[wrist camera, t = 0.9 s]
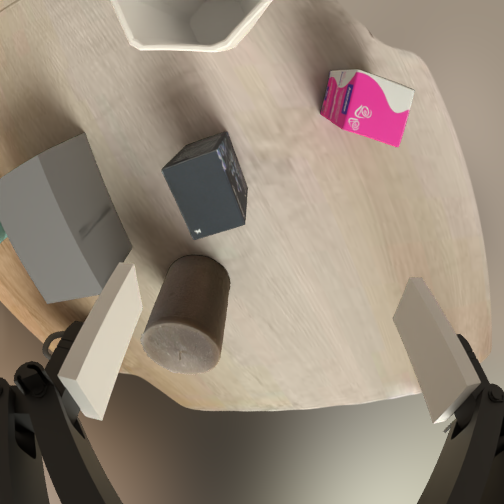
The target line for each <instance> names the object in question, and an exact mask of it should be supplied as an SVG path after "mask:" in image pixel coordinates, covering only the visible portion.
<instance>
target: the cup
mask: <svg viewBox="0 0 504 504" xmlns="http://www.w3.org/2000/svg"><path fill="white" fill-rule="evenodd" d="M272 1H273V0H110V2H111V4H112V6H113V9H114V11H115V13H116V15H117V18H118V20H119V22H120V24H121V27H122V29H123V31H124V33H125V36H126V38H127V40H128V42H129V44H130V45H132V46H133V47H135V48H137V49H138V50H180V51H201V52H220V51H227V50H230V49H233V48H235V47H236V46H237V45H238V44H239V42H240V41H241V40H242V39H243V38H244V37H245V36H246V35H247V33H248V32H249V31H250V30H251V29H252V28H253V26H254V25H255V23H256V22H257V21H258V19H259V18H260V17H261V15H262V14H263V12H264V11H265V10H266V8H267V7H268V6H269V5H270V3H271V2H272Z"/></svg>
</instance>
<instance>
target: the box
mask: <svg viewBox="0 0 504 504" xmlns="http://www.w3.org/2000/svg"><path fill="white" fill-rule="evenodd" d="M162 174H163V175H164V177H165V179H166V181H167V183H168V185H169V187H170V190H171V192H172V194H173V196H174V198H175V200H176V203H177V205H178V207H179V209H180V212H181V214H182V216H183V218H184V220H185V223H186V225H187V227H188V229H189V232H190V234H191V236H192V239H193V240H197V239H200V238H203V237H206V236H209V235H213V234H216V233H220V232H223V231H226V230H230V229H233V228H236V227H239V226H242V225H245V220H246V207H247V191H248V187H247V185H246V182H245V179H244V176H243V174H242V171H241V168H240V165H239V163H238V160H237V157H236V154H235V152H234V149H233V146H232V143H231V140H230V137H229V134H228V132H223V133H220V134H217V135H214V136H211V137H208V138H206V139H203V140H200V141H197V142H194V143H191V144H189V145H186V146H185V147H184V148H183V149H182V150H181V151H180V152H179V153H178V154H176V155H175V156H174V157H173V158H172V159H171V160H170V161H169V162H168V163H167V164H166V165H165V166H164V167H163V168H162Z"/></svg>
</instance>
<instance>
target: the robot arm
mask: <svg viewBox="0 0 504 504" xmlns="http://www.w3.org/2000/svg"><path fill="white" fill-rule="evenodd" d="M142 309H143V306H142V301H141V297H140V292H139V287H138V282H137V277H136V271H135V266H134V263H122V262H119V264H118V265H117V267H116V268H115V270H114V272H113V273H112V275H111V277H110V278H109V280H108V282H107V283H106V285H105V287H104V288H103V290H102V292H101V294H100V295H99V297H98V299H97V301H96V302H95V304H94V306H93V308H92V309H91V311H90V313H89V315H88V317H87V318H86V320H85V322H78V321H75V322H73V323H72V324H71V325H70V326H69V327H68V328H67V329H66V330H65V332H64V334H63V336H62V338H61V340H60V341H59V343H58V345H57V348H56V349H55V350H54V352H53V354H52V356H51V358H50V360H49V362H48V364H47V366H46V368H45V370H44V368H43V366H42V365H41V364H39V363H38V362H33V361H31V362H27V363H25V364H23V365H21V366H20V367H19V368H18V370H17V371H16V373H15V375H14V382H15V384H16V385H17V386H10V385H9V384H8V382H7V381H6V380H5V379H3V378H0V504H50V503H49V498H48V494H47V488H46V482H45V476H44V469H43V462H42V457H43V460H44V462H45V465H46V467H47V470H48V472H49V475H50V478H51V480H52V483H53V485H54V487H55V490H56V492H57V494H58V496H59V498H60V501H61V503H62V504H123V503H122V502H121V500H120V498H119V497H118V495H117V493H116V491H115V490H114V488H113V486H112V485H111V483H110V481H109V479H108V478H107V476H106V474H105V472H104V470H103V468H102V466H101V464H100V462H99V460H98V459H97V456H96V454H95V453H94V450H93V449H92V447H91V444H90V442H89V440H88V438H87V436H86V433H85V431H84V429H83V426H82V424H81V422H80V420H79V418H78V417H77V416H78V413H79V411H80V410H81V411H82V412H83V414H84V415H85V416H87V417H90V418H94V419H98V420H102V419H103V416H104V413H105V410H106V407H107V404H108V401H109V398H110V395H111V392H112V389H113V386H114V383H115V380H116V377H117V375H118V372H119V369H120V366H121V364H122V361H123V358H124V356H125V353H126V350H127V348H128V345H129V342H130V340H131V337H132V334H133V332H134V329H135V327H136V324H137V322H138V319H139V317H140V314H141V312H142ZM393 320H394V323H395V325H396V327H397V330H398V332H399V334H400V337H401V339H402V341H403V344H404V346H405V349H406V351H407V354H408V356H409V359H410V361H411V364H412V366H413V369H414V371H415V374H416V377H417V379H418V382H419V385H420V387H421V390H422V393H423V395H424V398H425V401H426V404H427V407H428V410H429V413H430V415H431V419H432V422H433V424H434V423H438V422H442V421H446V420H448V419H449V418H450V416H452V414H453V413H454V414H455V417H456V419H455V420H454V421H453V422H452V423H451V424H450V425H449V426H448V427H447V428H446V429H445V430H444V432H447V431H448V430H449V429H450V431H449V433H448V437H447V439H446V442H445V444H444V447H443V449H442V452H441V454H440V457H439V459H438V461H437V464H436V466H435V468H434V471H433V473H432V475H431V477H430V479H429V481H428V483H427V485H426V487H425V489H424V491H423V493H422V495H421V497H420V499H419V501H418V503H417V504H504V392H503V390H502V389H501V388H500V387H499V386H498V385H495V384H490V383H489V381H488V380H487V377H486V375H485V373H484V371H483V369H482V367H481V365H480V363H479V361H478V359H476V356H475V354H474V352H472V348H471V346H470V345H469V343H468V341H467V340H466V339H465V338H464V337H463V336H462V335H461V334H456V333H455V331H454V329H453V328H452V326H451V324H450V322H449V321H448V319H447V317H446V316H445V314H444V312H443V311H442V309H441V307H440V306H439V304H438V302H437V301H436V299H435V297H434V296H433V294H432V292H431V291H430V289H429V288H428V286H427V285H426V283H425V281H424V280H423V278H422V277H409V280H408V283H407V285H406V288H405V290H404V293H403V295H402V298H401V300H400V302H399V305H398V307H397V309H396V312H395V314H394V316H393Z"/></svg>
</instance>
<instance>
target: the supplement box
mask: <svg viewBox="0 0 504 504" xmlns="http://www.w3.org/2000/svg"><path fill="white" fill-rule="evenodd" d="M414 92H415V90H414V89H411V88H409V87H407V86H404V85H402V84H399V83H397V82H394V81H391V80H389V79H386V78H383V77H380V76H377V75H374V74H371V73H368V72H365V71H362V70H359V69H351V70H333V71H332V70H331V71H330V74H329V80H328V85H327V89H326V93H325V97H324V101H323V105H322V108H321V112H320V114H321V115H322V116H324V117H325V118H327V119H328V120H330V121H331V122H332V123H334V124H335V125H337V126H338V127H340V128H341V129H343V130H346V131H349V132H353V133H356V134H359V135H362V136H365V137H368V138H371V139H374V140H377V141H380V142H383V143H386V144H389V145H392V146H395V147H399V145H400V142H401V139H402V136H403V132H404V129H405V126H406V122H407V119H408V115H409V111H410V108H411V104H412V100H413V96H414Z"/></svg>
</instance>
